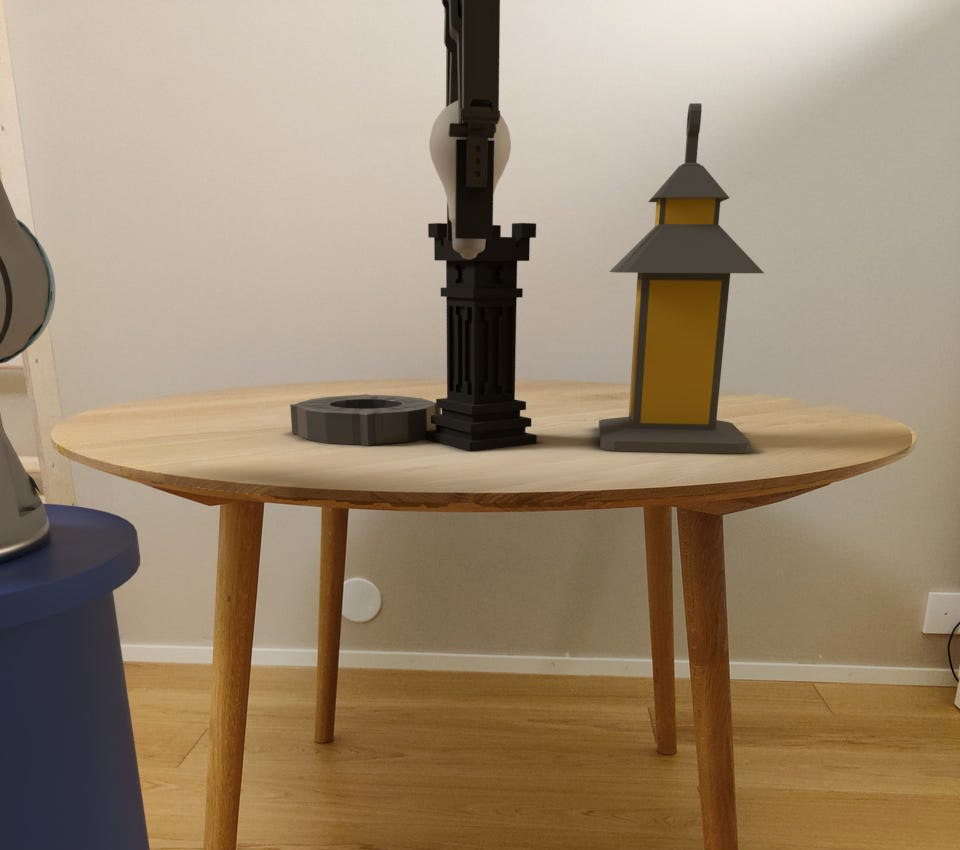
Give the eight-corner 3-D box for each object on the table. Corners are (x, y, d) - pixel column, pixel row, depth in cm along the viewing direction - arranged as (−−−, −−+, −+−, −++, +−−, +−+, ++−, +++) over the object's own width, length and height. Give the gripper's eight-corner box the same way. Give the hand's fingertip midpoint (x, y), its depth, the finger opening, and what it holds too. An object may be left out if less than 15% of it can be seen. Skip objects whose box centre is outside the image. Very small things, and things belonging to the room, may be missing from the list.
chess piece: (490, 432, 101) (492, 225, 93) (536, 443, 94) (542, 223, 87) (425, 438, 96) (422, 223, 89) (469, 451, 90) (469, 220, 83)
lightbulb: (507, 260, 77) (511, 106, 73) (508, 259, 71) (512, 92, 67) (432, 258, 77) (432, 104, 73) (426, 258, 72) (426, 91, 68)
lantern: (729, 430, 103) (761, 114, 92) (751, 453, 90) (790, 90, 79) (598, 427, 104) (613, 116, 93) (600, 450, 91) (619, 91, 80)
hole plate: (368, 449, 91) (367, 417, 89) (270, 434, 99) (268, 404, 98) (461, 431, 101) (461, 402, 100) (366, 418, 109) (365, 391, 108)
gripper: (553, -182, 57) (538, 237, 65) (506, -76, 75) (499, 243, 83) (427, -191, 56) (429, 235, 65) (410, -82, 74) (413, 241, 82)
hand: (468, 239), depth 74 cm, fingers closed on lightbulb, 6 cm apart
